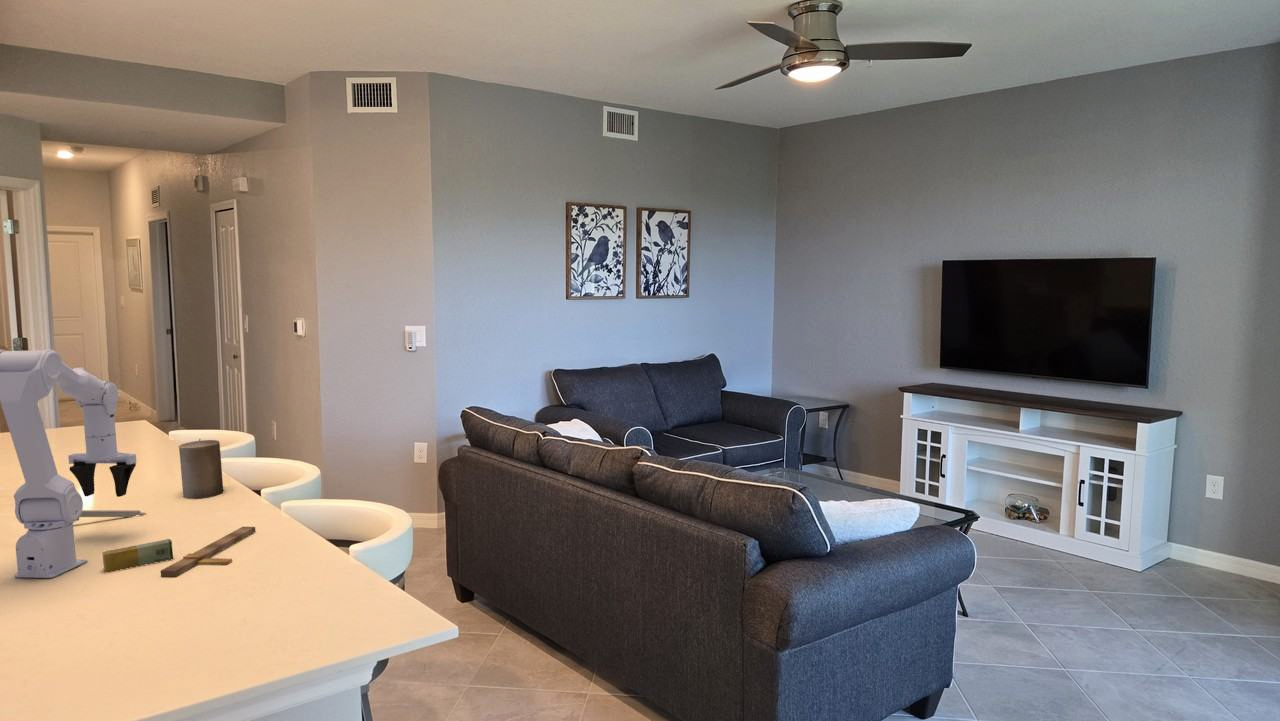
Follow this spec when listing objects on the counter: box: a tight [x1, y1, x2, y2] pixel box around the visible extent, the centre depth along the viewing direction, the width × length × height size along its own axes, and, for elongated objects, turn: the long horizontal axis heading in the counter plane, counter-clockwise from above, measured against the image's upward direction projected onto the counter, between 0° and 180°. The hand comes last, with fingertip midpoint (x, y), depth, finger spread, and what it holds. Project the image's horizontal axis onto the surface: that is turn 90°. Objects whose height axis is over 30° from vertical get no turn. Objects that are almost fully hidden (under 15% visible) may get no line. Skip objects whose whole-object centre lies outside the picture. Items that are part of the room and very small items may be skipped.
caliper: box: [76, 509, 147, 522], centre depth 197 cm, size 20×1×6 cm, turn 128°
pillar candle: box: [178, 438, 225, 499], centre depth 221 cm, size 10×10×15 cm
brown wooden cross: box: [160, 526, 256, 578], centre depth 174 cm, size 28×9×2 cm, turn 175°
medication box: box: [102, 538, 174, 573], centre depth 168 cm, size 12×3×4 cm, turn 129°
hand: (105, 495), depth 185 cm, fingers open, 7 cm apart
